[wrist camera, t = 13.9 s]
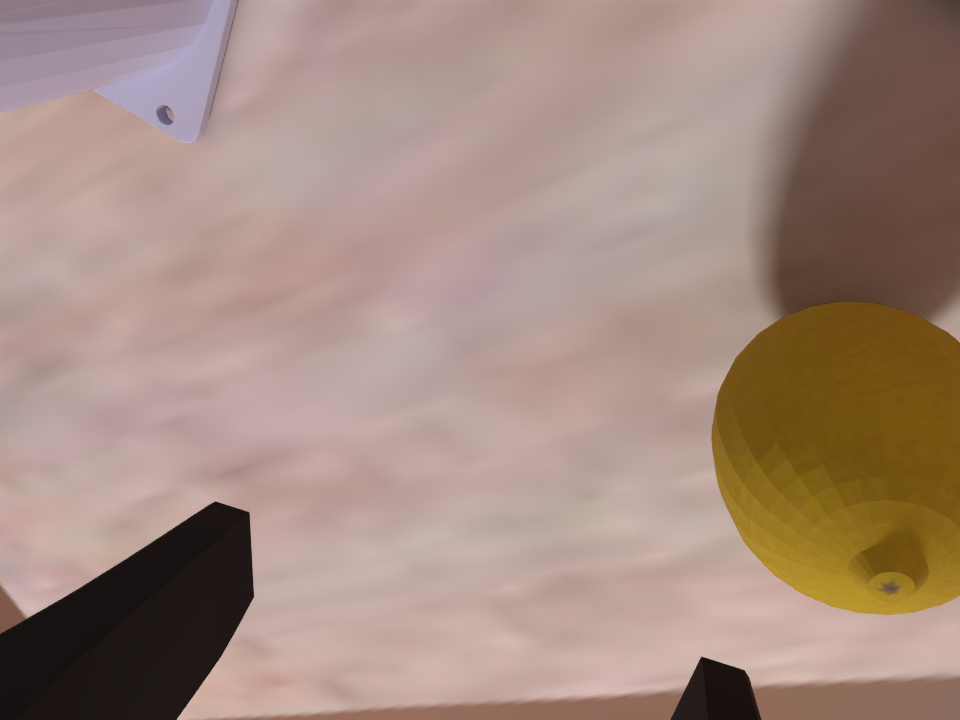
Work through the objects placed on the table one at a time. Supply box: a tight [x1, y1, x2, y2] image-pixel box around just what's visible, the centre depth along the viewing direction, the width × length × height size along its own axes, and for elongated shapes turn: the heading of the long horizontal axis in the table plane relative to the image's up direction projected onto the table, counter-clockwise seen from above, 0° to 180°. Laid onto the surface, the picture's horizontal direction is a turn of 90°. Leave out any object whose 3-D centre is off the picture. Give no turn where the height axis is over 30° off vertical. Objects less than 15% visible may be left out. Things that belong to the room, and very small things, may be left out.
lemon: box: [712, 302, 960, 615], centre depth 15 cm, size 6×6×8 cm
